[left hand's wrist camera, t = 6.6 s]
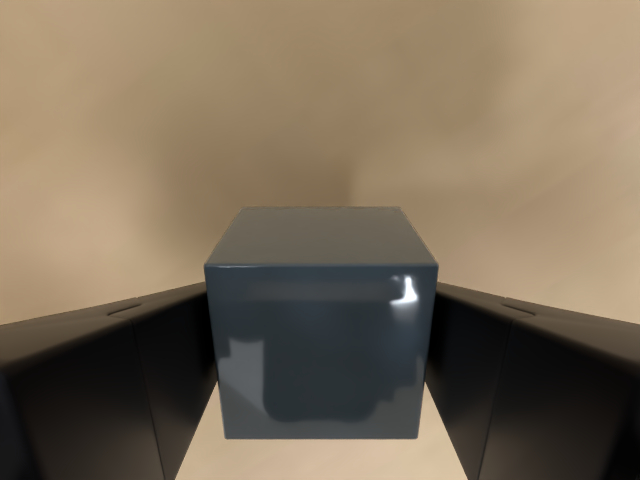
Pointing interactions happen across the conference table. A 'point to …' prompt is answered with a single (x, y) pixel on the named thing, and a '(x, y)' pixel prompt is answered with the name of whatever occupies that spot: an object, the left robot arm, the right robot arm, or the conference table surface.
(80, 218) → the conference table surface
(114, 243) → the conference table surface
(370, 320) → the block
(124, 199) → the conference table surface
